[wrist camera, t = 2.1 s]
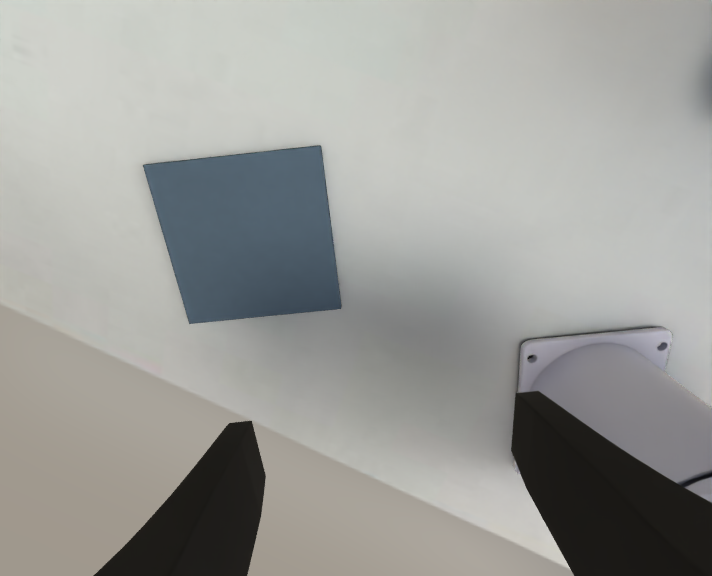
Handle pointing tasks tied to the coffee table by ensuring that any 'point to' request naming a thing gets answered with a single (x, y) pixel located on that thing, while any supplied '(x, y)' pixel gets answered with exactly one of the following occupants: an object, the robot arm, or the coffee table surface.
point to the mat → (248, 233)
